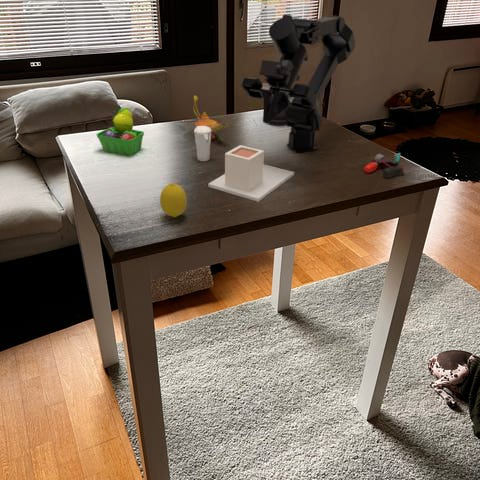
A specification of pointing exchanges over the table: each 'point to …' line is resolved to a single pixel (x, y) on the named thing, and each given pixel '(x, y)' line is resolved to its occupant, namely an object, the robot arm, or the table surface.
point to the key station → (249, 175)
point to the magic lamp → (207, 121)
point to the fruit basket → (121, 135)
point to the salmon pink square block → (245, 153)
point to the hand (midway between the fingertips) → (264, 122)
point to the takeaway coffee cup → (203, 142)
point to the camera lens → (278, 118)
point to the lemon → (173, 200)
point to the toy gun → (386, 166)
